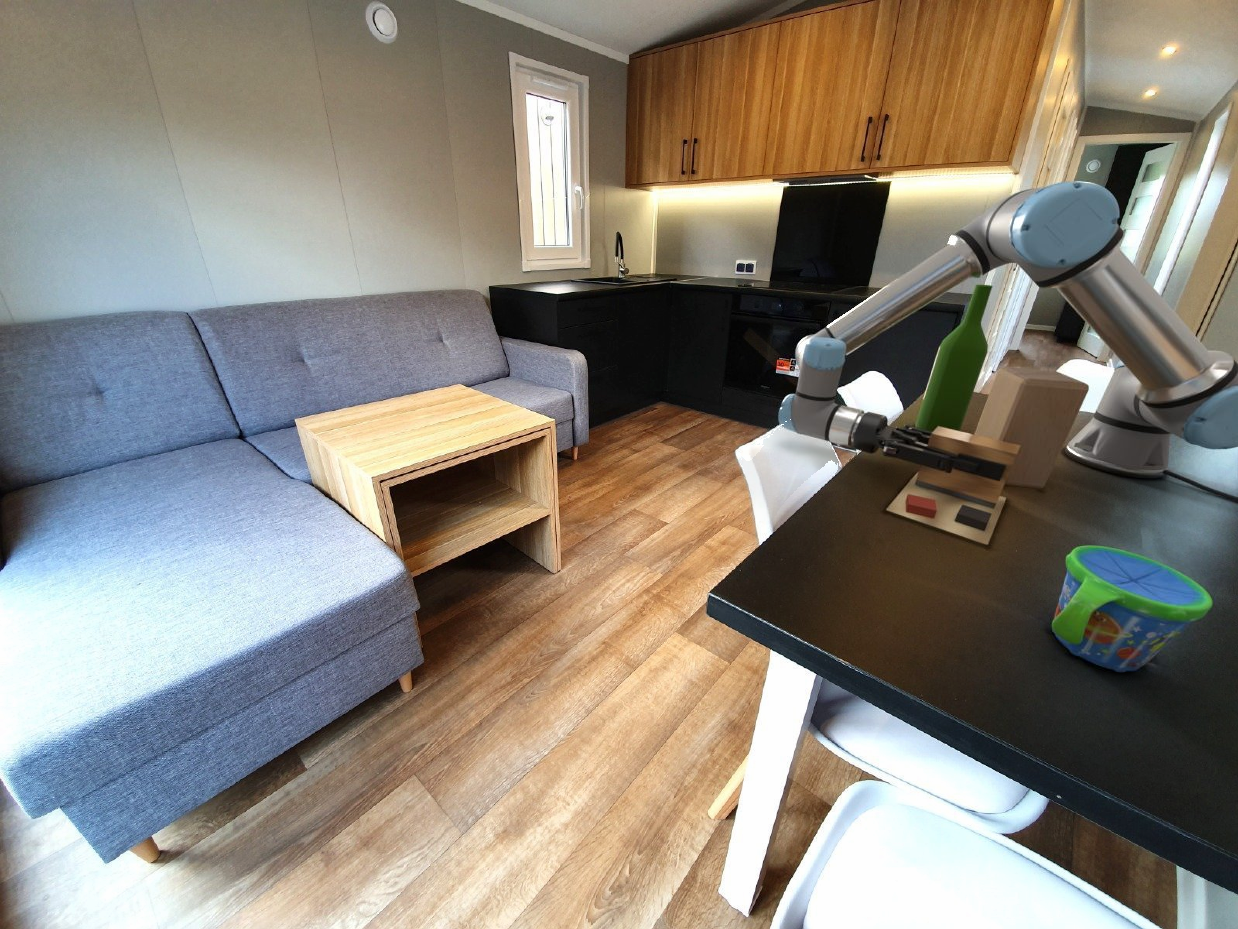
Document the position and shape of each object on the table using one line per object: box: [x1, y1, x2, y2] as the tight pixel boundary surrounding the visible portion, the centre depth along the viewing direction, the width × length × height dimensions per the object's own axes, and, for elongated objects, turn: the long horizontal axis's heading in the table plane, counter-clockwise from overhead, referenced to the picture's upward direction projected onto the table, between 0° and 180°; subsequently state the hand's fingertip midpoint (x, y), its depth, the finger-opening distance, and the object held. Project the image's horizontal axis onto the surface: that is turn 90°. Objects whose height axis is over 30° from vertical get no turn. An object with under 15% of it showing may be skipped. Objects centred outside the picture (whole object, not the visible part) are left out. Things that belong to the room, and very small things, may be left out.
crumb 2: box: [955, 505, 992, 531], centre depth 77 cm, size 4×4×2 cm
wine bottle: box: [914, 284, 993, 432], centre depth 109 cm, size 9×9×32 cm
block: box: [973, 366, 1090, 490], centre depth 89 cm, size 10×10×20 cm
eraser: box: [915, 426, 1020, 509], centre depth 84 cm, size 12×5×10 cm, turn 48°
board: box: [886, 471, 1007, 545], centre depth 82 cm, size 14×20×1 cm
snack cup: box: [1051, 545, 1213, 673], centre depth 52 cm, size 16×10×10 cm
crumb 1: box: [905, 494, 937, 518], centre depth 80 cm, size 4×4×2 cm
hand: (1005, 467), depth 80 cm, fingers closed on eraser, 5 cm apart
